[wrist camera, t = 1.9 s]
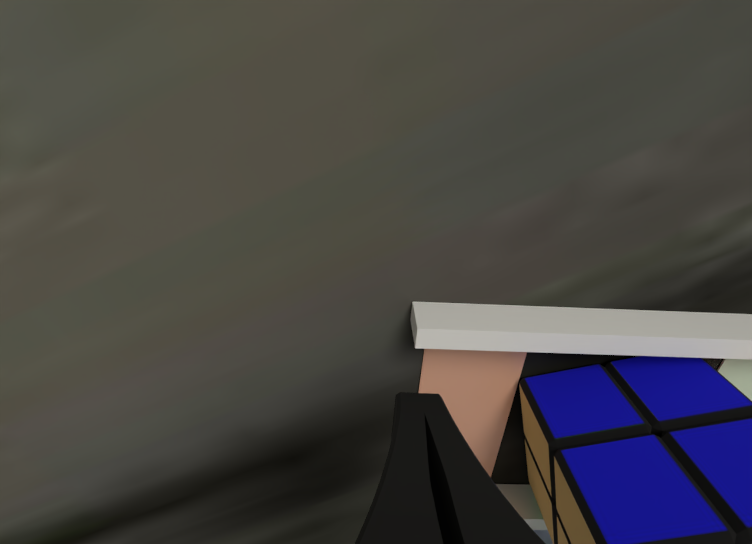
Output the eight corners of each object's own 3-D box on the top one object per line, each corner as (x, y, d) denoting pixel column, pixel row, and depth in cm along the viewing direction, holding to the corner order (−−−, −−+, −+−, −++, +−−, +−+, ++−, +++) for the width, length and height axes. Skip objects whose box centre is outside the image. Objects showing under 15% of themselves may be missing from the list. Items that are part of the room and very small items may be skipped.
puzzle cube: (690, 342, 23) (895, 517, 14) (672, 454, 27) (818, 641, 18) (516, 375, 24) (604, 558, 15) (526, 478, 28) (599, 667, 19)
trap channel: (798, 500, 30) (832, 534, 28) (391, 492, 29) (392, 527, 27) (954, 322, 23) (1018, 349, 20) (412, 301, 21) (417, 328, 19)
